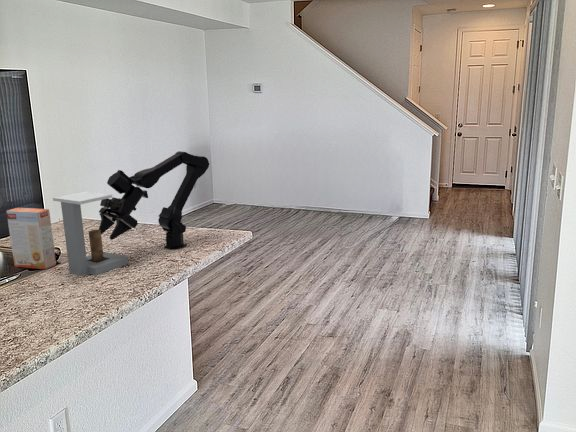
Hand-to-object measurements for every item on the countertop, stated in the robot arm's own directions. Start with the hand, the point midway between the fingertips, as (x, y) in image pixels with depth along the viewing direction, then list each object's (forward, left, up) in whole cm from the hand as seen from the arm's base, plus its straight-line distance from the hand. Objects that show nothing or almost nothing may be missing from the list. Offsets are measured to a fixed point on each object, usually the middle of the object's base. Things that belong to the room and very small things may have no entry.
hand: (104, 237), depth 187 cm
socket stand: (+4, -1, -10) cm, 11 cm away
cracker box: (+14, -22, -10) cm, 28 cm away
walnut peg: (+3, -1, -10) cm, 11 cm away
